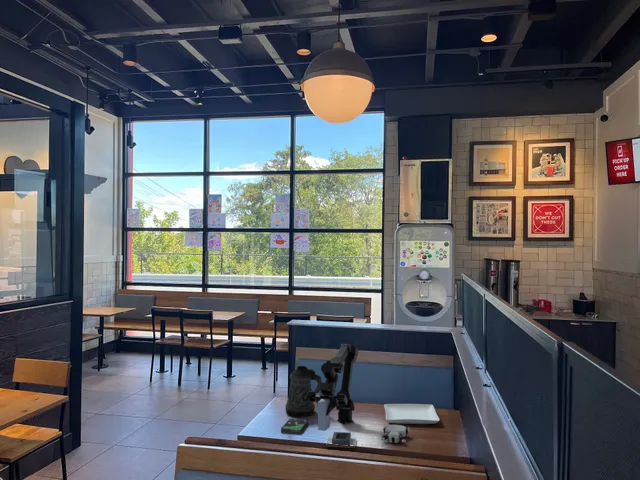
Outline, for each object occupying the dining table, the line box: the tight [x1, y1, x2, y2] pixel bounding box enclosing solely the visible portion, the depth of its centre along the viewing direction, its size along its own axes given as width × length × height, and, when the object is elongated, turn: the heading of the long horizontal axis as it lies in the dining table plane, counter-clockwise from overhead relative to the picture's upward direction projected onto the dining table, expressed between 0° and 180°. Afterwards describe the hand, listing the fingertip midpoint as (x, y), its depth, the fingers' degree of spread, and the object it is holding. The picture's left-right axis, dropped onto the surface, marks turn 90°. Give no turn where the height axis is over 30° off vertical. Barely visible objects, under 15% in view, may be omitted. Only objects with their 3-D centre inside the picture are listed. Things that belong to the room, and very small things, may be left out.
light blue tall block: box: [317, 399, 331, 432], centre depth 215 cm, size 6×4×13 cm, turn 159°
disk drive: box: [280, 418, 309, 435], centre depth 235 cm, size 10×3×15 cm
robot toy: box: [380, 424, 410, 444], centre depth 219 cm, size 12×4×15 cm
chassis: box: [326, 431, 357, 446], centre depth 214 cm, size 10×13×4 cm
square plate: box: [383, 403, 440, 425], centre depth 250 cm, size 27×27×4 cm
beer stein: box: [284, 365, 323, 418], centre depth 261 cm, size 16×19×25 cm
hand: (322, 414), depth 214 cm, fingers closed on light blue tall block, 4 cm apart
